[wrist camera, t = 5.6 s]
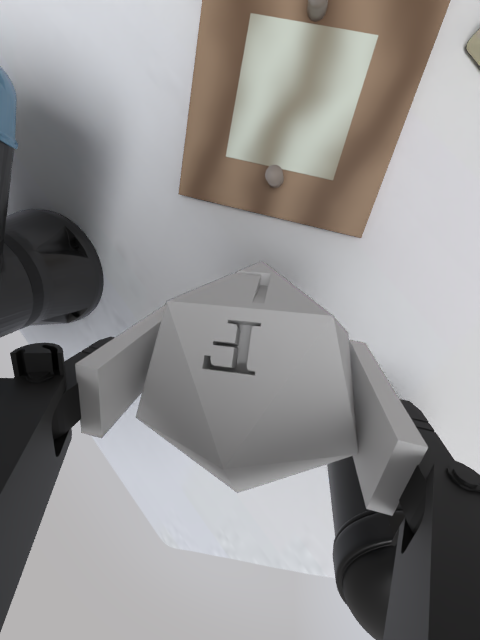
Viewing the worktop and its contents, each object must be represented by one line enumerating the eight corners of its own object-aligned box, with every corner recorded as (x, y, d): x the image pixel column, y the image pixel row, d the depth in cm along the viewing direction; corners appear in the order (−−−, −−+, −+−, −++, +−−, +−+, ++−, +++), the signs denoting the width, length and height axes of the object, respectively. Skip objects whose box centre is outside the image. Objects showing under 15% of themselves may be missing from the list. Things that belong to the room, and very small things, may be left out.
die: (348, 258, 14) (454, 329, 5) (323, 400, 17) (360, 606, 8) (193, 249, 16) (46, 292, 6) (196, 383, 19) (101, 543, 9)
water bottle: (309, 428, 38) (331, 685, 17) (319, 365, 35) (363, 589, 14) (386, 440, 37) (514, 738, 16) (404, 375, 33) (604, 647, 12)
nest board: (182, 195, 31) (166, 191, 27) (214, -55, 23) (199, -110, 19) (358, 237, 29) (368, 239, 25) (453, -18, 22) (488, -70, 18)
